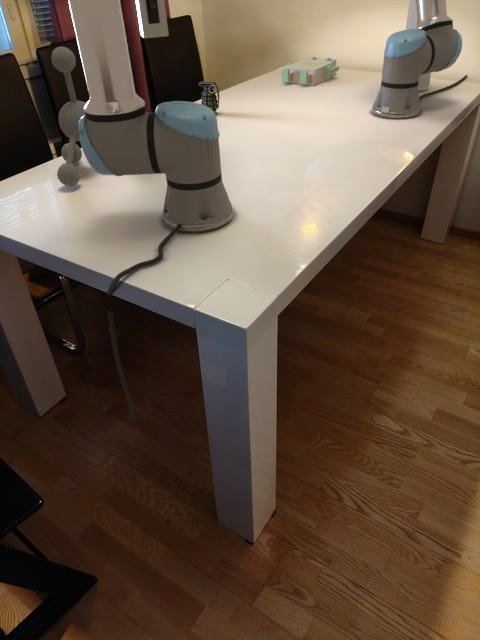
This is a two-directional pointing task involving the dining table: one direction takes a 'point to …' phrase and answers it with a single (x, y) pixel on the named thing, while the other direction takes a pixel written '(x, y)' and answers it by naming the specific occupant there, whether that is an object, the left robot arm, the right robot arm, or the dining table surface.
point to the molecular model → (69, 118)
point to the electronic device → (412, 24)
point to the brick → (145, 27)
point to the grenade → (210, 95)
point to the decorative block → (310, 71)
